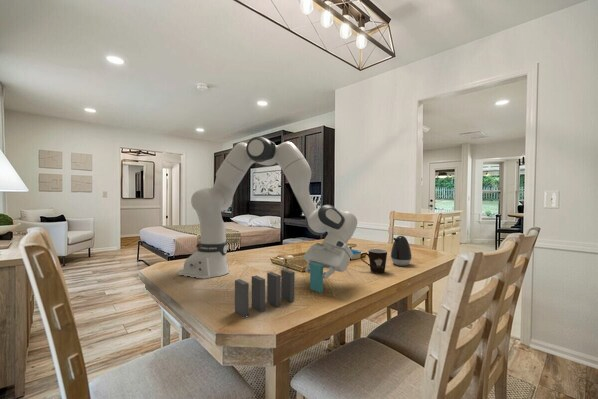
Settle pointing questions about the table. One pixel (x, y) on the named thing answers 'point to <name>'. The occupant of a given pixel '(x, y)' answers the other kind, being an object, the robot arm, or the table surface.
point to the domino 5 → (316, 277)
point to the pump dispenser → (401, 251)
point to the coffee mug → (376, 260)
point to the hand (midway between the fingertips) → (315, 274)
